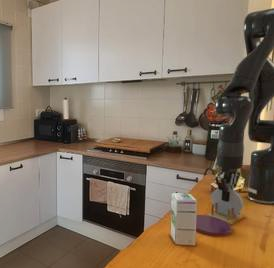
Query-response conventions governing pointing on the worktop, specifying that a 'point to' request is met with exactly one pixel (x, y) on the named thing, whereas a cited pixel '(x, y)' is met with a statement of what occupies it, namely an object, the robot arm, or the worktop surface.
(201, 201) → the worktop surface
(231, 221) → the dish rack
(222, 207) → the plate
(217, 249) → the worktop surface
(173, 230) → the syrup box
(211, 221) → the plum plate
